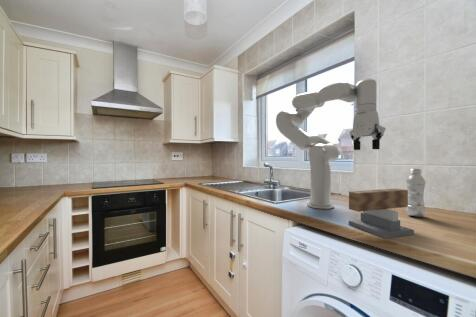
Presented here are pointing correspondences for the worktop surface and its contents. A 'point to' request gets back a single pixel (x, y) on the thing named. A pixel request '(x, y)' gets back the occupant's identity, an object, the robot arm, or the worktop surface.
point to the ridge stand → (381, 223)
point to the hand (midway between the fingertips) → (366, 149)
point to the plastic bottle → (415, 193)
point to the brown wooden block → (378, 199)
